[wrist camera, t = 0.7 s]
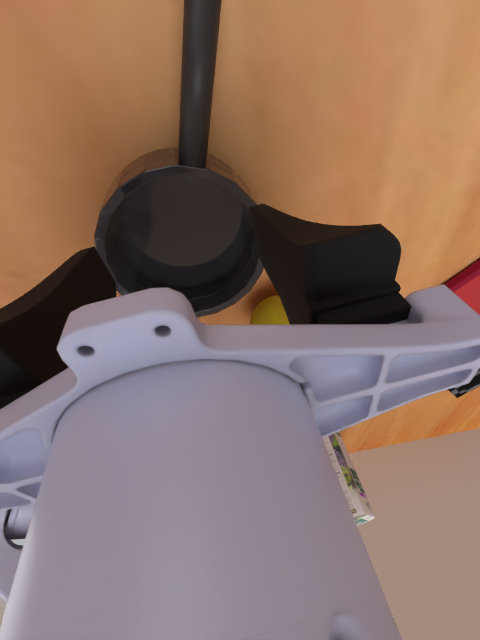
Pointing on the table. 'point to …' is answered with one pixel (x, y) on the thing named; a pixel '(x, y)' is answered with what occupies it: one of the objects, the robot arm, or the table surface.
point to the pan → (180, 231)
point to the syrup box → (348, 479)
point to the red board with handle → (476, 291)
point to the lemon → (269, 312)
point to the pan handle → (197, 79)
